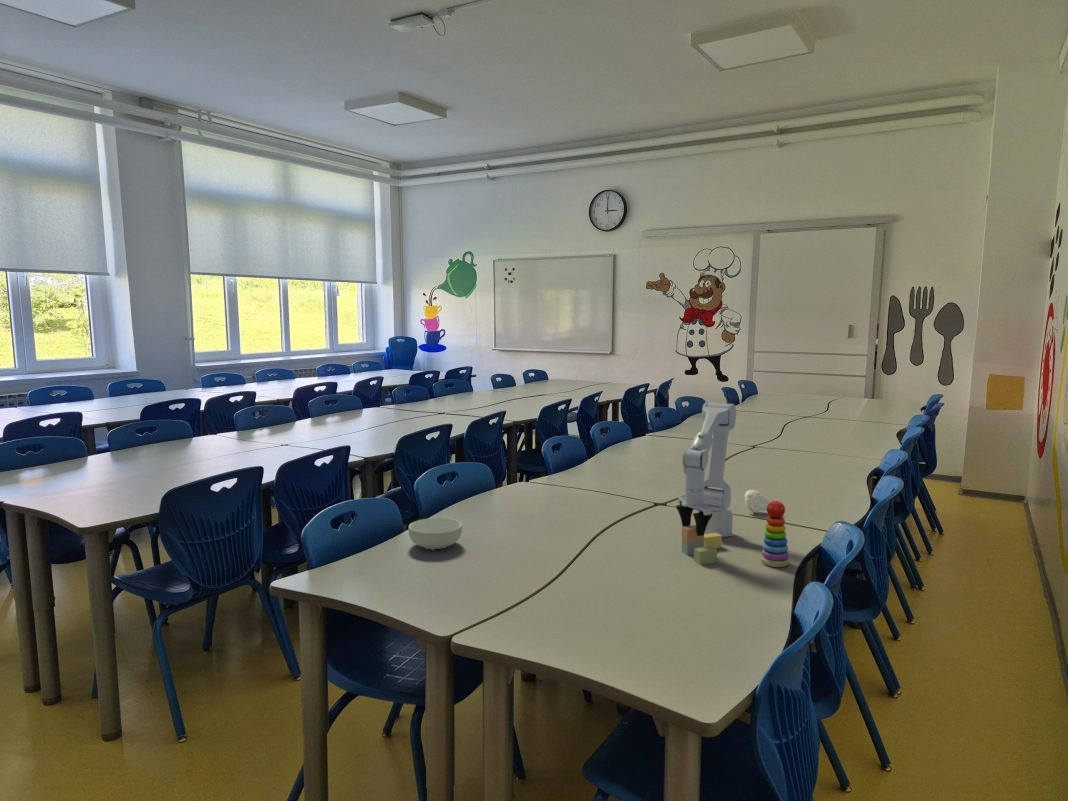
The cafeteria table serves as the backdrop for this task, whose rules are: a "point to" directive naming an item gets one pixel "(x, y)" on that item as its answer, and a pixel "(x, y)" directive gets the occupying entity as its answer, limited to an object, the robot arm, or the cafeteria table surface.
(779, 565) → the stacking toy
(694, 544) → the slate brick
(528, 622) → the cafeteria table surface
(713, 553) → the olive brick
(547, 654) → the cafeteria table surface
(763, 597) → the cafeteria table surface
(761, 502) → the white textured lump
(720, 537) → the mustard brick
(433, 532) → the cereal bowl
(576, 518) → the cafeteria table surface
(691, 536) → the terracotta brick
